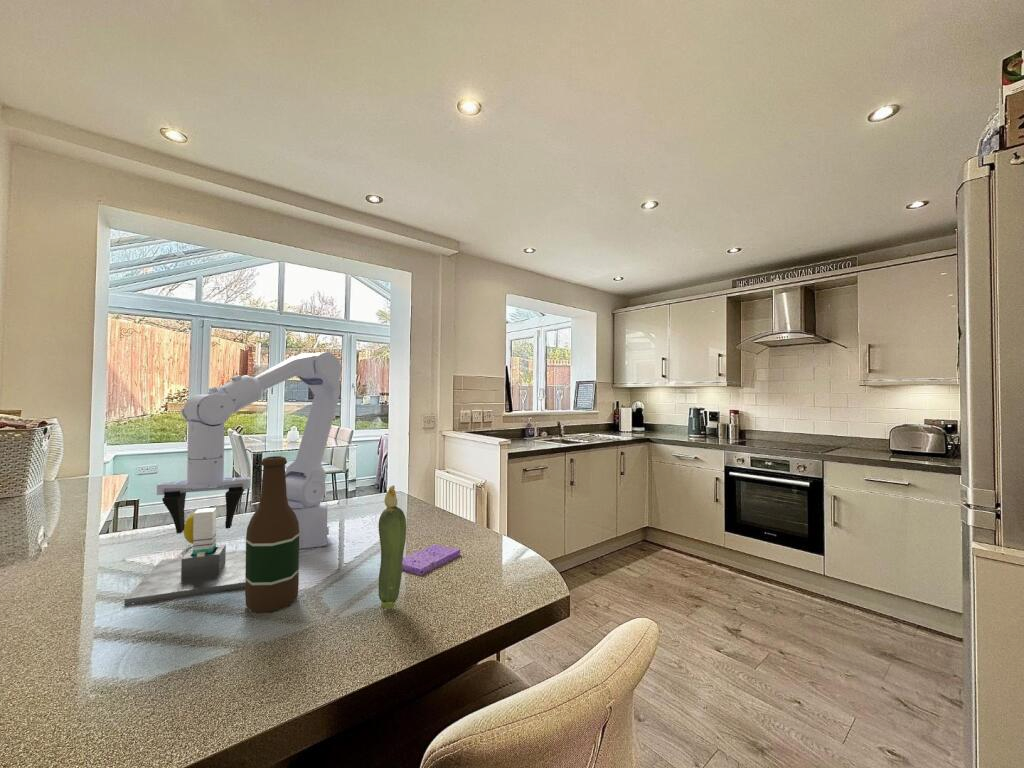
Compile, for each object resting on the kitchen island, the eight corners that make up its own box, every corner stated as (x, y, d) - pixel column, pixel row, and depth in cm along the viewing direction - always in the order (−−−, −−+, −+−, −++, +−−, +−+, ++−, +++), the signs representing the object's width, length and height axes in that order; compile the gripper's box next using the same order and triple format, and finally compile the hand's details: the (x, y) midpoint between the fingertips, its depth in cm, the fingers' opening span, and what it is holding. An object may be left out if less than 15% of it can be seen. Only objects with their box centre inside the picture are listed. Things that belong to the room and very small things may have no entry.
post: (216, 549, 86) (216, 507, 86) (212, 554, 83) (213, 511, 83) (196, 551, 85) (197, 509, 85) (192, 556, 82) (193, 513, 82)
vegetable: (381, 601, 74) (382, 481, 74) (407, 600, 74) (408, 480, 75) (375, 614, 70) (376, 486, 70) (403, 613, 70) (404, 486, 70)
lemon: (219, 542, 102) (220, 507, 102) (200, 551, 96) (200, 514, 96) (197, 541, 102) (197, 506, 103) (176, 550, 97) (177, 513, 97)
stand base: (264, 552, 96) (264, 528, 96) (251, 586, 79) (252, 558, 79) (161, 564, 89) (162, 539, 89) (124, 605, 72) (125, 573, 72)
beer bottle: (308, 596, 76) (310, 455, 76) (270, 618, 68) (272, 462, 69) (273, 589, 78) (275, 453, 79) (233, 609, 71) (235, 459, 71)
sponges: (393, 570, 88) (394, 561, 88) (435, 550, 99) (435, 542, 99) (420, 578, 84) (420, 568, 84) (460, 557, 95) (460, 548, 95)
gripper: (151, 462, 78) (149, 540, 77) (246, 458, 83) (245, 531, 83) (164, 457, 84) (163, 529, 84) (252, 453, 90) (251, 520, 90)
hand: (204, 529), depth 84 cm, fingers open, 7 cm apart
